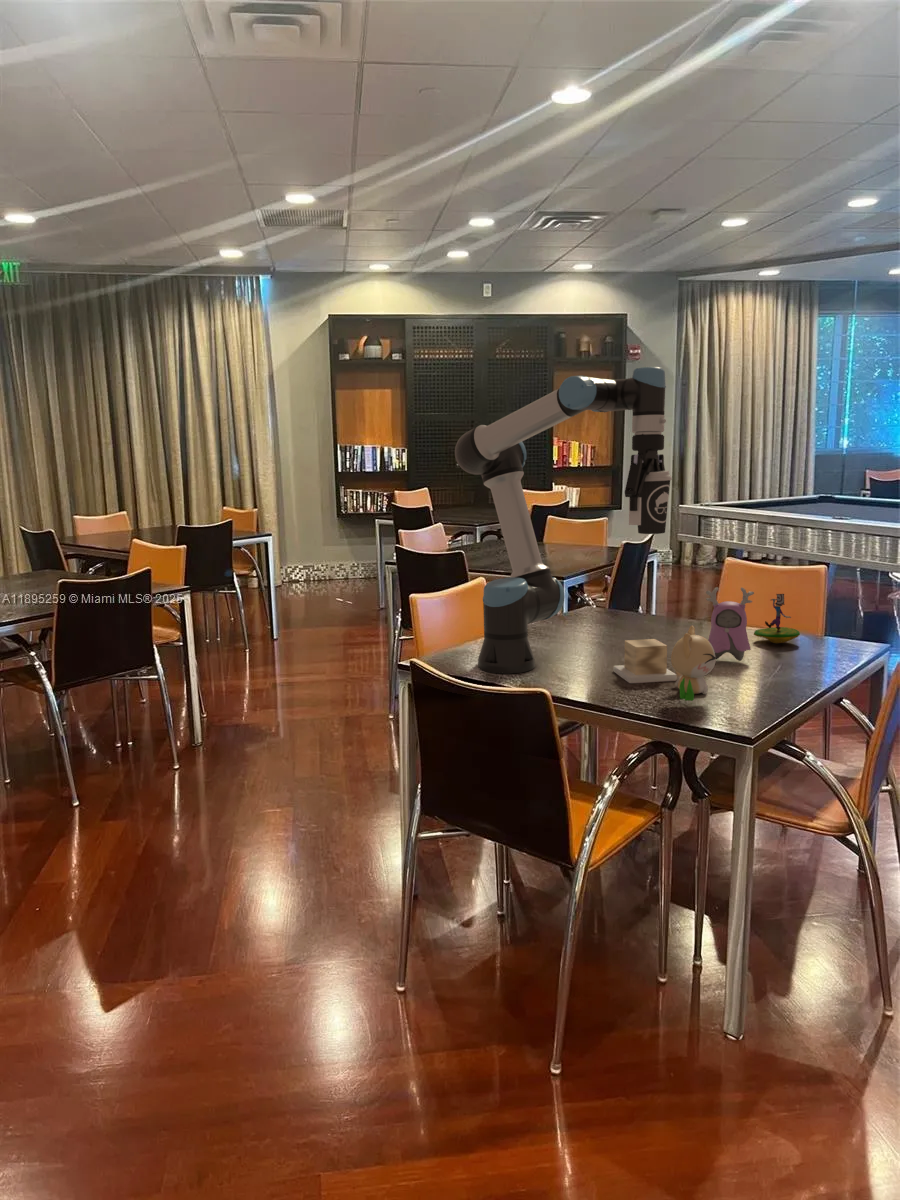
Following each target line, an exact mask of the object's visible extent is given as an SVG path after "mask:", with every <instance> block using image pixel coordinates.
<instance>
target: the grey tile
mask: <svg viewBox="0 0 900 1200" xmlns="http://www.w3.org/2000/svg"><path fill="white" fill-rule="evenodd" d="M613 672H614V673H615V674H616V675H618V677H620V678H622V679H623V680H625V681H626V682H627V683H628V684H641V683H642V684H643V683H655V682H657V683H659V682H675V681H677V682H678V678H677V675H676V672H673V671H671V670H670V669H668V668H667V673H661V674H644V675H635V674H633V673H632V672H631V671H629V670H628V669H626V668H625V667H624V664H622V665H613Z"/></svg>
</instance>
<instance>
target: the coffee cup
mask: <svg viewBox="0 0 900 1200" xmlns="http://www.w3.org/2000/svg"><path fill="white" fill-rule="evenodd" d="M672 480H673V477H672V475H670V471H669V470H665V471H660V472H650V473H649V474H648V475H647V476H646V478H645V481H644V484H643V487H642V490H641V493H640V496H639V497H641V525H637V533H638V534H641V535H658V534H665V533H666V526H667V516H668V506H669V495H670V488H671V487H670V486H671V481H672Z"/></svg>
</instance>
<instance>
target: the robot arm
mask: <svg viewBox="0 0 900 1200" xmlns="http://www.w3.org/2000/svg"><path fill="white" fill-rule="evenodd" d="M666 389H667V386H666V372H665V369H664V368H663V367H659V366H645V367H644V366H643V367H638V368H635V369H634V370H633V371H632V376H631V377H629V378H619V379H617V378H616V379H610V378H609V379H608V378H599V377H592V376H586V375H579V374H578V375H571V376H569V377H567V378H565V379H564V380H563V382H562V383H561V384H560V386H559V388H557V389H555V390H553V391H552V392H550V393H547V394H546V395H544V396H542V397H540V398H538V399H536V400H534V401H532V402H531V403H529V404H526V405H524V406H522V407H521V408H519V409H517V410H515V411H512V412H511V413H509V414H507V415H505V416H503V417H501V418H500V419H497V420H496V421H494V422H491V423H490V424H488V425H485V424H480V425H478V426H475V427H474V428H472V429H470V430H469V431H466V432H465V433H464V434H462V435H461V436H460V437H459V439H458V440H457V442H456V444H455V446H454V447H455V448H454V457H455V460H456V463H457V464H458V466H459V467H460V468H461V469H462V470H463V471H465V472H466V473H468V474H470V475H475V476H476V475H478V476H479V475H480V477H481V479H482V482H483V486H485V487H486V488H488V489H490V492H491V495H492V496H491V497H492V499H493V504H494V506H495V510H496V514H497V517H498V522H499V525H500V529H501V534H502V536H503V537H502V538H503V541H504V545H505V548H506V552H507V556H508V559H509V564H510V566H511V570H512V572H511V574H510V576H509V577H503V578H497V579H493V580H491V581H489V582H487V583H486V584H485V585H484V587H483V597H482V603H483V604H482V605H483V606H482V607H483V609H482V610H483V635H484V637H483V642H482V645H481V649H480V652H479V654H478V658H477V668H478V669H479V670H480V671H482V672H487V673H493V674H507V675H508V674H520V673H525V672H529V671H532V670H533V669H535V665H536V664H535V663H536V662H535V656H534V653H533V649H532V647H531V644H530V641H529V634H528V633H529V631H528V630H529V628H528V625H529V624H532V623H536V622H539V621H541V622H542V621H545V620H548V619H550V618H553V617H555V616H556V615H558V614H559V612H560V611H561V610H562V608H563V606H564V603H565V598H566V597H565V590H564V586H563V585H562V583H561V581H560V580H558V578H556V577H554V576H552V572H551V569H550V566H548V565H545V564H544V563H543V559H542V556H541V554H540V549H539V546H538V542H537V538H536V534H535V530H534V527H533V523H532V519H531V515H530V511H529V509H528V504H527V501H526V497H525V493H524V490H523V485H522V481H521V480H522V478H523V476H524V474H525V473H524V469H523V468H524V466H525V464H526V460H527V450H526V446H525V444H524V441H526V440H527V439H528V440H529V439H531V438H532V437H534V436H535V435H538V434H540V433H542V432H544V431H546V430H548V429H551V428H553V427H554V426H556V425H559V424H560V423H563V422H565V421H566V420H568V419H571V418H573V417H575V416H577V415H579V414H581V413H583V412H585V411H591V412H593V413H608V412H619V411H632V417H631V418H632V422H631V433H633V434H634V435H632V437H631V449H632V451H635V452H637V454H631V456H630V465H629V471H628V475H627V479H626V484H625V488H624V496H625V497H624V498H628V499H629V504H628V505H629V506H628V512H629V513H628V525H629V526H630V525H631V526H638V525H641V497H639V496H640V493H641V490H642V487H643V484H644V481H645V478H646V476H647V475H648V474H649V473H650V472H660V471H666V468H665V461H664V460H665V457H664V454H659V453H658V452H659V451H663V450H664V449H665V435H664V434H662V433H664V431H665V424H666V423H667V419H666V418H665V412H666V411H665V407H666V406H665V405H666V404H665V403H666Z"/></svg>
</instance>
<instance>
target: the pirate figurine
mask: <svg viewBox="0 0 900 1200" xmlns="http://www.w3.org/2000/svg"><path fill="white" fill-rule="evenodd" d="M775 595H776V598H771V599H770V601H772V606H773V608H774V610H775V611H776V612H775V614H776V616H775V618H774V619H773V620H771V622H770V623H769V622H768V621H766V620H765V621H764V625H766V626H767V627H766V628H759V629H756V630H755V631H754V632H753V636H755V637H758V638H759V637H760V638H764V639H766V640H768V641H769V642H770V643H773V644H783V643H787V642H791V641H792V640H794V639H796V638H798V637H799V636H801V633H800V631H799V630H798V629H796V628H792V627H791V628H790V627H785V626H784V627H783V626H781V625H780V624H781V616H783V618H785V619H788V618H790V619H791V618H792V616H788V615H785V614H784V613H783V611H782V609H781V607H783V606H785V593H776V594H775ZM773 626H775V627H773Z"/></svg>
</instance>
